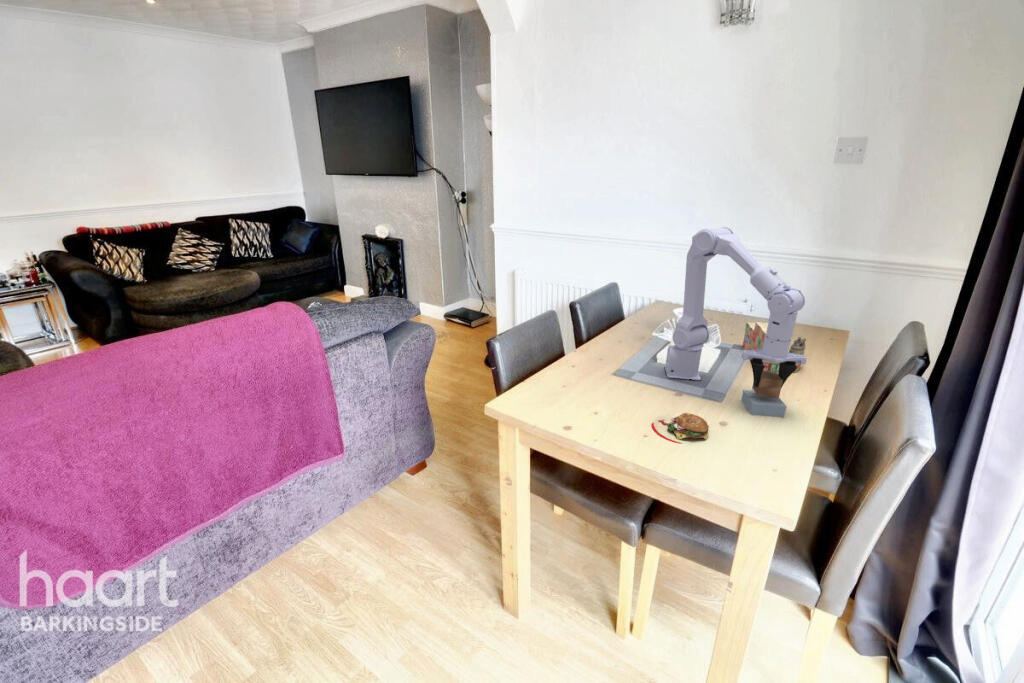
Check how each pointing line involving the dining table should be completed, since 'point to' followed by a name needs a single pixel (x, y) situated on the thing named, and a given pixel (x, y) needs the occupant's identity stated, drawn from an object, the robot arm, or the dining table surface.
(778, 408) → the base block
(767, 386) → the walnut cube
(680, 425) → the hamburger
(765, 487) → the dining table surface
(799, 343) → the lighter
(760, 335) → the stack of blocks
